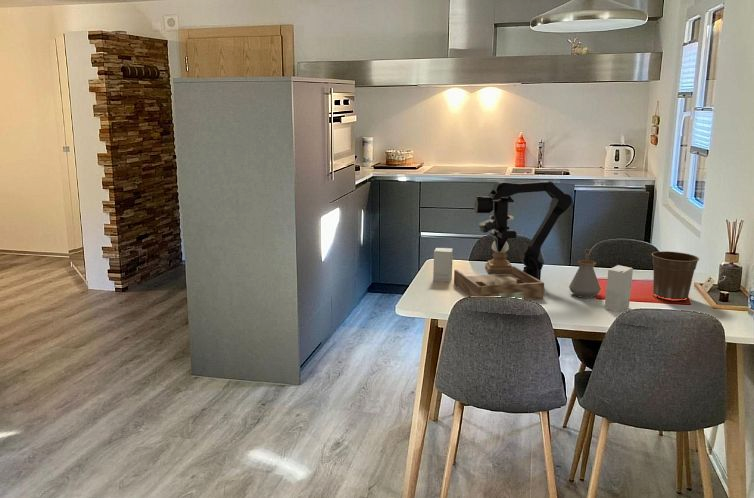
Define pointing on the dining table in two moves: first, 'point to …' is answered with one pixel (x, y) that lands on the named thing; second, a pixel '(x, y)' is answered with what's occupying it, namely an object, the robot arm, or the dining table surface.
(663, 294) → the plant pot
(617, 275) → the skincare box
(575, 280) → the coffee pot
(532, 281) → the box
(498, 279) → the birch block
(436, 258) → the supplement box
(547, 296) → the dining table surface
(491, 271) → the candle holder
